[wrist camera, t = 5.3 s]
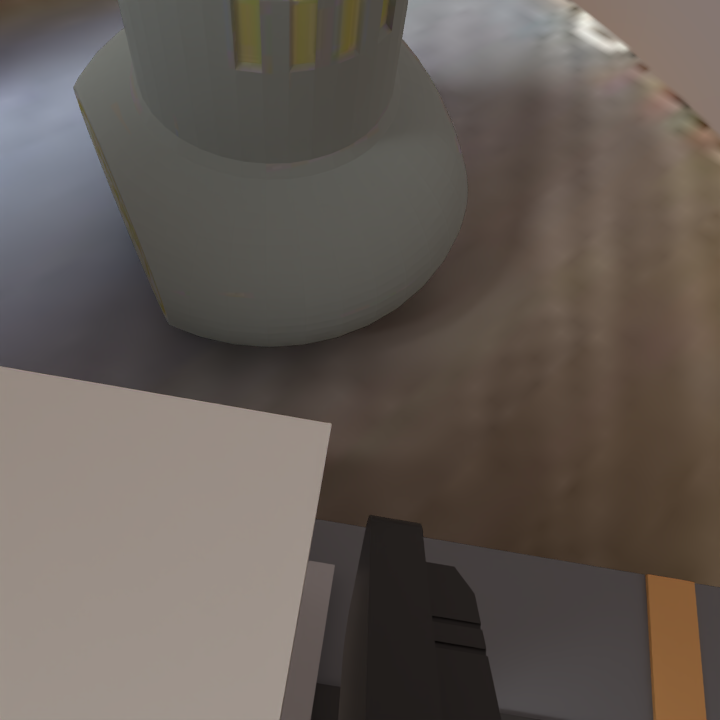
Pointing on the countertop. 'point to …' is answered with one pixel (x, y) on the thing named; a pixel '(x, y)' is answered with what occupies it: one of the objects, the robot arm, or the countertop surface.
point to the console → (557, 633)
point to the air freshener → (275, 162)
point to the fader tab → (156, 556)
